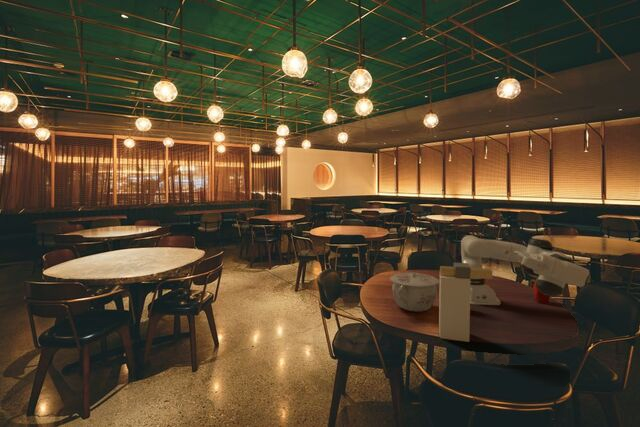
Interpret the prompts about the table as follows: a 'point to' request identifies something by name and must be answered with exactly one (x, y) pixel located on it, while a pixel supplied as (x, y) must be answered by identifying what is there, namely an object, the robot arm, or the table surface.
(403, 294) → the chamber pot
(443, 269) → the wooden rectangular plunger
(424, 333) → the table surface
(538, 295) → the french fries
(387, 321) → the table surface
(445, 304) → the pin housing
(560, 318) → the table surface
